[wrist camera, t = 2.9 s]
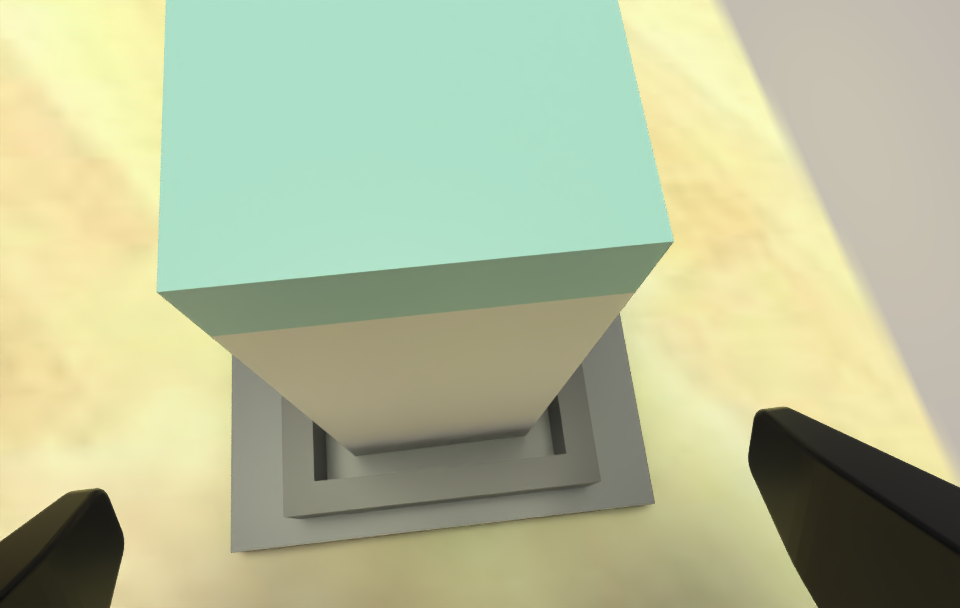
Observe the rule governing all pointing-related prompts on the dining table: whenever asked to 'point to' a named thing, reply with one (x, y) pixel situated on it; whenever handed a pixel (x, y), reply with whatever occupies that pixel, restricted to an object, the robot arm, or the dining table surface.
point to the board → (435, 465)
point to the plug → (405, 203)
